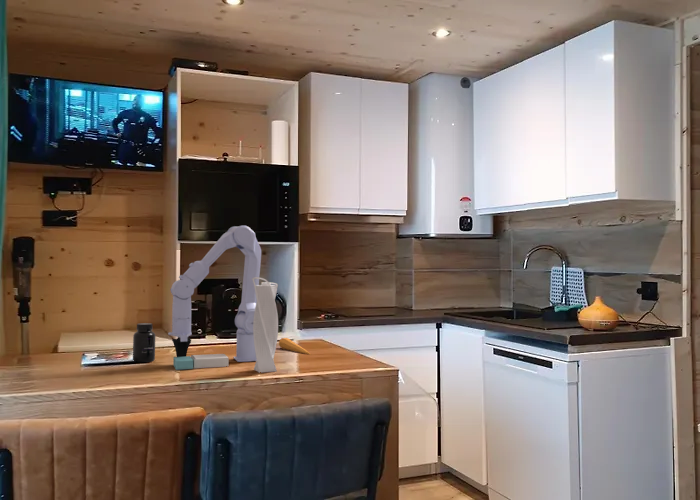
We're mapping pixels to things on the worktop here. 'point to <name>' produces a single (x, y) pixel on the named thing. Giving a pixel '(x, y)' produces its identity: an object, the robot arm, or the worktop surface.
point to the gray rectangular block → (210, 360)
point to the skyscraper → (265, 326)
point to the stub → (183, 362)
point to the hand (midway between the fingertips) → (181, 361)
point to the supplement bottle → (144, 343)
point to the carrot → (291, 346)
